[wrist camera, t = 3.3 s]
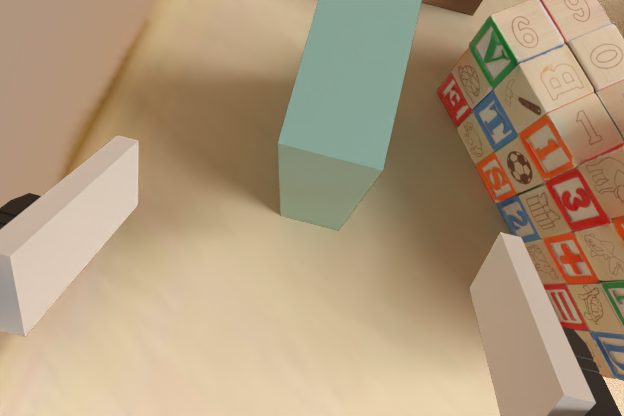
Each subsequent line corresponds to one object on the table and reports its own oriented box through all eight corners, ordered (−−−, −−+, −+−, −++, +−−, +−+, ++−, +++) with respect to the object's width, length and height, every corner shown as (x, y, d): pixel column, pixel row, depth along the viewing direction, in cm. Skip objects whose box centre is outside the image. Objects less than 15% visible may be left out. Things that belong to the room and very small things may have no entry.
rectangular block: (371, 96, 33) (434, -54, 19) (338, 230, 30) (383, 170, 17) (316, 82, 33) (340, -79, 19) (280, 215, 30) (277, 143, 17)
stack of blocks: (432, 92, 33) (517, -30, 21) (506, 61, 34) (627, -71, 22) (582, 374, 30) (786, 421, 18) (660, 332, 31) (905, 350, 18)
